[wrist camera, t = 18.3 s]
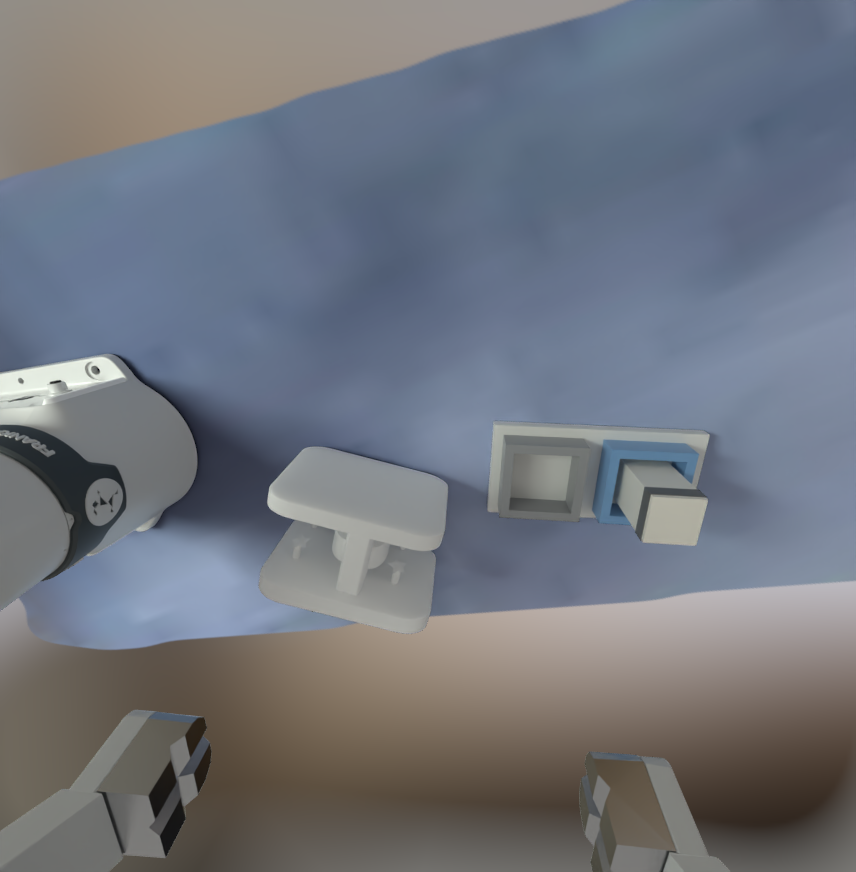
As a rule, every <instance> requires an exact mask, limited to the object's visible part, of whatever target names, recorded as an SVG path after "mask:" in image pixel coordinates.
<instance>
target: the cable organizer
mask: <svg viewBox="0 0 856 872" xmlns="http://www.w3.org/2000/svg"><path fill="white" fill-rule="evenodd" d="M447 498H448V485H447V484H446V483H445V482H444V481H443V480H442V479H440V478H438V477H436V476H434V475H431V474H428V473H424V472H420V471H416V470H413V469H409V468H405V467H401V466H397V465H393V464H389V463H385V462H382V461H378V460H374V459H370V458H366V457H362V456H358V455H354V454H351V453H347V452H343V451H339V450H335V449H331V448H326V447H307V448H304V449H303V450H302V451H301V452H300V453H299V454H298V455H297V456H296V458H295V459H294V460H293V461H292V462H291V463H290V464H289V465H288V466H287V467H286V469H285V470H284V471H283V472H282V473H281V474H280V475H279V476H278V477H277V478H276V480H275V481H274V482H273V483H272V484H271V485H270V487H269V493H268V500H267V504H268V506H269V508H270V509H271V510H272V511H274V512H275V513H277V514H279V515H281V516H283V517H286V518H290V519H294V520H295V521H294V522H293V523H292V524H291V525H290V527H289V528H288V530H287V531H286V533H285V534H284V536H283V537H282V539H281V540H280V542H279V543H278V545H277V546H276V547H275V549H274V550H273V552H272V553H271V555H270V556H269V558H268V559H267V561H266V562H265V564H264V565H263V566H262V568H261V572H260V579H259V589H260V591H261V593H262V594H263V595H264V596H265V597H267V598H269V599H270V600H273V601H275V602H278V603H282V604H286V605H290V606H294V607H298V608H302V609H306V610H310V611H312V612H313V611H314V612H318V613H322V614H325V615H329V616H333V617H337V618H341V619H345V620H349V621H353V622H357V623H361V624H365V625H369V626H374V627H377V628H381V629H385V630H389V631H393V632H397V633H402V634H413V633H417V632H420V631H422V630H423V629H424V628H425V627H426V624H427V622H428V618H429V615H430V612H431V605H432V595H433V584H434V574H435V564H436V557H435V555H434V553H433V552H432V551H431V550H434V549H437V548H438V547H439V546H440V545H441V542H442V539H443V535H444V532H445V525H446V511H447Z"/></svg>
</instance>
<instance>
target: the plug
mask: <svg viewBox="0 0 856 872" xmlns="http://www.w3.org/2000/svg"><path fill="white" fill-rule="evenodd" d="M613 498H614V499H615V501H616V502H617V504H618V505H619V507H620V508H621V510H622V511H623V513H624V514H625V516H626V517H627V519H628V520H629V522H630V524H631V525H632V527H633V528H634V530H635V533H636V534H637V536H638V537H639V539H640V540H642V542H643V543H657V544H673V545H690V546H696V544H697V541H698V537H699V533H700V529H701V525H702V522H703V518H704V514H705V510H706V507H707V503H708V499H707V498H706V496H705V495H704V494H703V493H702V492H701V491H700V490H697V489H696V488H695V487H694V486H693V485H692V484H691V483H690V482H689V481H688V480H687V479H685V478H684V477H683V476H682V475H681V474H680V473H679V472H678V471H677V470H676V469H675V468H674V467H673V466H672V465H671V464H669V463H668V462H667V461H655V460H635V459H620V462H619V467H618V473H617V478H616V484H615V489H614V495H613Z"/></svg>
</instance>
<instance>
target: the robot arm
mask: <svg viewBox="0 0 856 872" xmlns="http://www.w3.org/2000/svg"><path fill="white" fill-rule="evenodd" d="M97 367H98V368H99V369H100V372H99V371H98V370H97ZM196 471H197V451H196V446H195V442H194V439H193V436H192V434H191V432H190V429H189V427H188V426H187V424H186V422H185V421H184V419H183V418H182V416H181V415H180V414H179V412H178V411H177V410H176V409H175V408H174V407H173V406H172V405H171V404H170V403H169V402H168V401H167V400H166V399H165V398H164V397H162V396H161V395H160V394H158V393H157V392H155V391H154V390H152V389H151V388H149V387H148V386H146V385H145V384H143V383H142V382H140V381H139V380H138V379H137V378H136V377H135V375H134V374H133V373H132V372H131V370H130V369H129V368H128V367H127V366H126V364H125V363H124V362H123V361H122V360H121V359H119V358H118V357H117V356H115V355H112V354H103V355H98V356H92V357H86V358H80V359H75V360H69V361H63V362H58V363H52V364H46V365H41V366H35V367H29V368H23V369H18V370H12V371H6V372H1V373H0V611H1V610H3V609H4V608H5V607H7V606H8V605H9V604H10V603H12V602H13V601H15V600H16V599H17V598H19V597H20V596H21V595H23V594H24V593H25V592H27V591H28V590H29V589H31V588H32V587H33V586H35V585H36V584H37V583H39V582H40V581H44V580H48V579H51V578H53V577H55V576H57V575H58V574H60V573H61V572H63V571H65V570H67V569H69V568H70V567H72V566H74V565H75V564H77V563H78V562H80V561H81V560H82V559H84V558H83V557H84V556H86V555H87V556H92V555H95V554H97V553H99V552H101V551H102V550H104V549H106V548H107V547H109V546H110V545H112V544H114V543H115V542H117V541H118V540H120V539H122V538H123V537H125V536H126V535H128V534H129V533H131V532H133V531H134V530H136V531H147V530H148V529H150V528H151V527H153V526H154V525H155V524H156V523H157V522H158V520H159V519H160V517H161V515H162V513H163V511H164V510H165V509H166V508H167V507H169V506H170V505H172V504H174V503H175V502H177V501H178V500H180V499H181V498H182V497H183V496H184V495H185V494H186V493H187V492H188V490H189V489H190V487H191V486H192V484H193V481H194V479H195V476H196ZM206 729H207V726H206V723H205V718H204V717H198V716H189V715H180V714H170V713H161V712H154V711H143V710H133V711H132V712H130V713H129V714H128V715H127V716H125V717H124V718H123V720H122V721H121V722H120V724H119V725H118V726H117V728H116V729H115V730H114V732H113V733H112V734H111V735H110V737H109V738H108V739H107V741H106V742H105V743H104V744H103V746H102V747H101V748H100V750H99V751H98V752H97V754H96V755H95V756H94V758H93V759H92V760H91V761H90V763H89V764H88V765H87V767H86V768H85V769H84V771H83V772H82V773H81V775H80V776H79V777H78V779H77V780H76V781H75V782H74V784H73V785H72V786H71V787H70V789H61V790H60V791H59V792H57V793H55V794H54V795H52V796H51V797H49V798H48V799H47V800H45V801H44V802H42V803H41V804H39V805H38V806H36V807H35V808H33V809H32V810H30V811H29V812H27V813H26V814H24V815H23V816H22V817H20V818H19V819H17V820H16V821H14V822H13V823H11V824H10V825H9V826H7V827H5V828H4V829H2V830H1V831H0V872H109V871H110V870H111V869H112V868H113V867H114V866H115V865H116V864H117V863H119V861H121V860H122V859H123V855H134V856H147V857H159V858H166V856H167V855H168V853H169V850H170V849H171V847H172V845H173V843H174V841H175V839H176V837H177V835H178V833H179V831H180V829H181V827H182V825H183V823H184V821H185V820H186V817H185V805H186V804H187V803H189V802H190V801H191V800H192V799H194V798H195V797H196V796H197V795H198V794H199V792H200V790H201V787H202V786H203V784H204V782H205V780H206V777H207V773H208V770H209V767H210V763H211V746H210V743H209V741H207V740H206V738H204V737H203V735H204V733H205V731H206ZM585 767H586V772H587V775H585V776H584V777H583V778H581V784H580V811H581V818H582V824H583V829H584V834H585V836H586V837H587V838H588V839H589V841H590V842H591V843H592V845H593V846H594V849H593V854H592V858H591V866H592V871H593V872H730V871H729V869H728V868H727V867H726V866H725V865H724V864H723V863H722V862H721V861H720V860H719V859H718V858H717V857H711V856H709V855H708V853H707V850H706V848H705V846H704V843H703V841H702V839H701V837H700V834H699V831H698V829H697V827H696V825H695V822H694V820H693V817H692V815H691V813H690V810H689V808H688V805H687V803H686V801H685V799H684V796H683V794H682V791H681V789H680V787H679V784H678V782H677V780H676V777H675V775H674V772H673V770H672V768H671V766H670V764H669V763H668V762H667V760H666V759H663V758H656V757H640V756H637V755H627V754H614V753H600V752H589V753H588V754H587V755H586V760H585Z"/></svg>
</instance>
